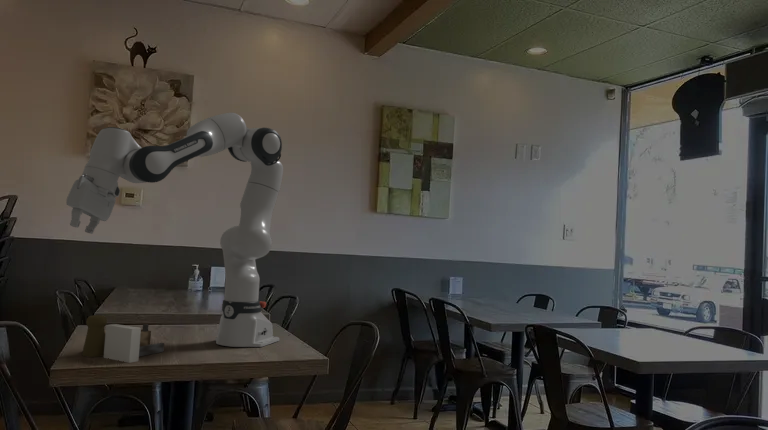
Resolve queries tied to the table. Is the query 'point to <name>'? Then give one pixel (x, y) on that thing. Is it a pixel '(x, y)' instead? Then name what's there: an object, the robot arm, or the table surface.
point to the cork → (95, 336)
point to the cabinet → (148, 343)
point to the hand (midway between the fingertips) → (81, 230)
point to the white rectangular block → (122, 343)
